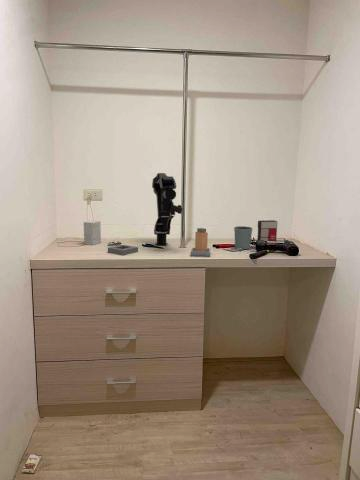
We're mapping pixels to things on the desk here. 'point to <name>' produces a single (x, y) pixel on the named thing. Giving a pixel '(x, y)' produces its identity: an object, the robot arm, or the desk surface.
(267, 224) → the grey upright box
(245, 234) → the blue-grey cup
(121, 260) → the desk surface
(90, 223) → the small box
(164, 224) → the robot arm
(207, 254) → the tray
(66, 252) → the desk surface
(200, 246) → the plug
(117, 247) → the socket block
